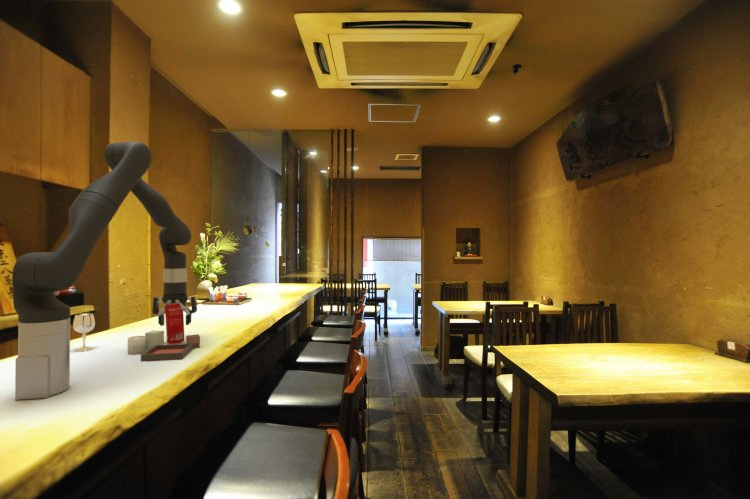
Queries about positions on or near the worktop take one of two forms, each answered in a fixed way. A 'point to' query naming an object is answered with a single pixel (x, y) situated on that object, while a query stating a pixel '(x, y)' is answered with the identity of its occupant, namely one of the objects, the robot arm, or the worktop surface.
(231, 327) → the worktop surface
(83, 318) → the wineglass
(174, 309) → the beverage can
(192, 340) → the walnut block
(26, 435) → the worktop surface
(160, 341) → the sage painted block
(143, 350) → the beige block
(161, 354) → the lacquer tray
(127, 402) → the worktop surface
